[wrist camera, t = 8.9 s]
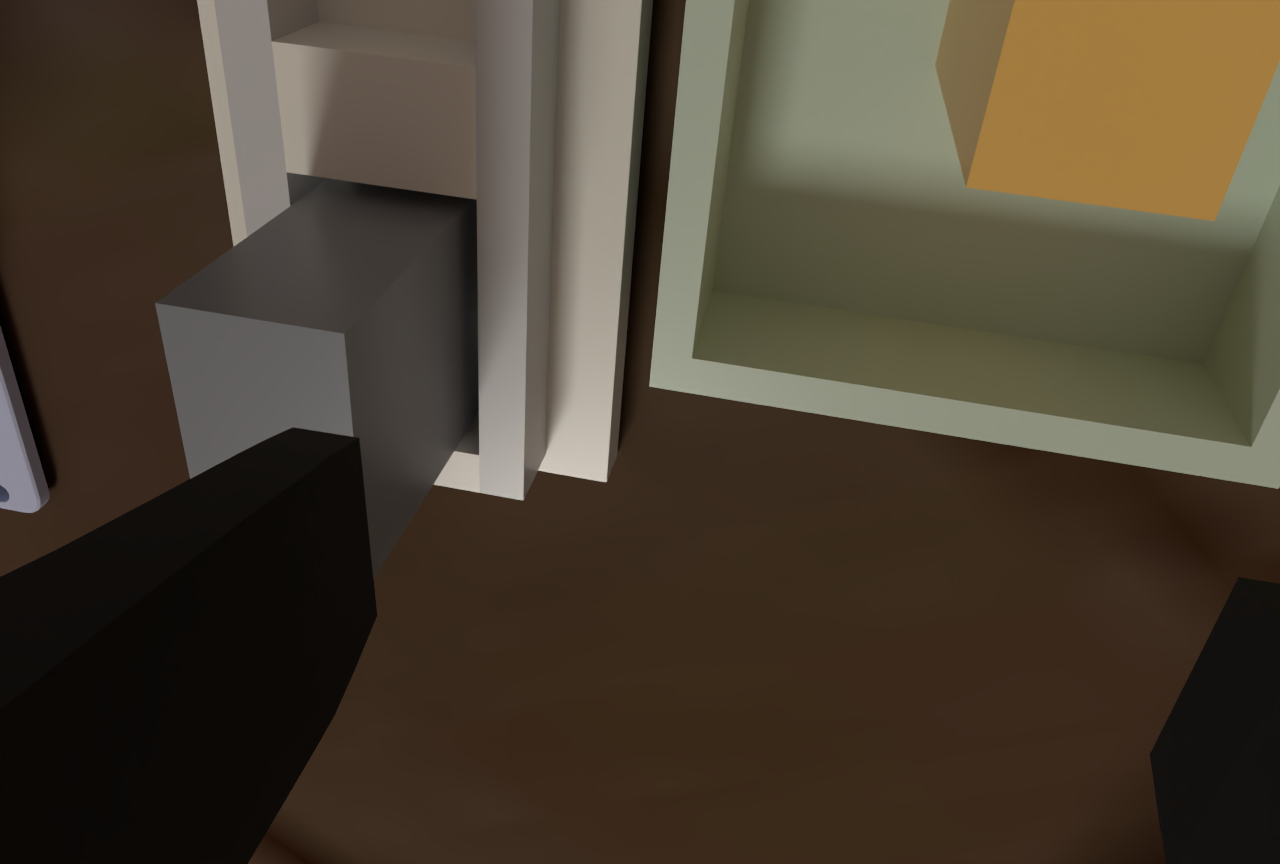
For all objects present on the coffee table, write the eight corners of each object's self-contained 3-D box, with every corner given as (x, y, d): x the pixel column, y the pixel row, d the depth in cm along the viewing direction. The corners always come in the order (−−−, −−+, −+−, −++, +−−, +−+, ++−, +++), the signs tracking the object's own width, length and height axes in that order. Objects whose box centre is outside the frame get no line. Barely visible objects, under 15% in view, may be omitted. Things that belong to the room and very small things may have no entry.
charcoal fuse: (365, 374, 19) (206, 559, 14) (348, 164, 17) (155, 303, 12) (489, 395, 19) (367, 589, 14) (488, 183, 17) (343, 334, 12)
